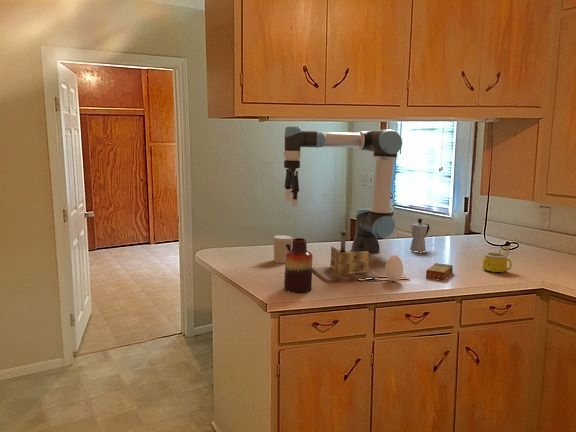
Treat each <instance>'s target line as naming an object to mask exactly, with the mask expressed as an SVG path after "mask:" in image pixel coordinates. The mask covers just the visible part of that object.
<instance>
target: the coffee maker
mask: <svg viewBox="0 0 576 432" xmlns="http://www.w3.org/2000/svg"><path fill="white" fill-rule="evenodd" d="M422 221H423V218H418V219H417V222H416V223H412V224H411V225H410V226H411V227H410V228H411V236H412V239H411V245H410V248H409V251H410V250H412V251H418V252H423V251H426V239H425V238H427V235H428V233H429V231H430V225H429V224H428V223H424V222H422Z"/></svg>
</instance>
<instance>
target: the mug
mask: <svg viewBox="0 0 576 432" xmlns="http://www.w3.org/2000/svg"><path fill="white" fill-rule="evenodd" d="M510 249H511V247H506V246H502V247H500V249H499V251H498V252H492V251H491V252H490V251H488V252H486V253H484V257H483V259H482V263H481V265H482V266H481V267H482V269H483V270H484V271H486V270H487V272H489V271H491V272H490V273H495V272H501V273H505V272H507V271H509V270H511V269H512V267H513V263H512V261H511V259H509V258H508V257H507V256H508V255H509V253H510ZM501 250H502V251H501ZM507 262H509V267H508V264H507ZM504 271H505V272H504Z"/></svg>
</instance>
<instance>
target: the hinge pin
mask: <svg viewBox="0 0 576 432" xmlns="http://www.w3.org/2000/svg"><path fill="white" fill-rule="evenodd" d="M339 233H340V250H341V251H340V252H345V250H346V244H347V243H346V240H347V238H346V237H347V234H348V230H343V229H342V230H340V231H339Z"/></svg>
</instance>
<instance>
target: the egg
mask: <svg viewBox="0 0 576 432" xmlns="http://www.w3.org/2000/svg"><path fill="white" fill-rule="evenodd" d="M384 269H385V270H384V271H385V276H386V277H387V279H388V281H390V282H392V281H396V282H398V281H399V280H400V279H401V278H402V276H403V274H404V264H403V260H402V259H401V257H400V256H399V255H397V254H393V255H391V256H390V257H389V258H388V259H387V261H386V264H385V268H384Z"/></svg>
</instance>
